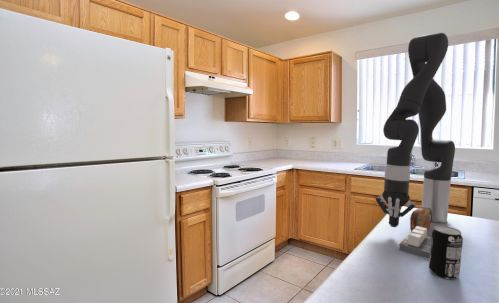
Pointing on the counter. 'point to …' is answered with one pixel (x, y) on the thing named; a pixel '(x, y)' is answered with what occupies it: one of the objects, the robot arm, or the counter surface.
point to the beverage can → (445, 252)
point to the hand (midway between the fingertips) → (393, 226)
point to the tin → (421, 218)
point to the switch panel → (419, 251)
